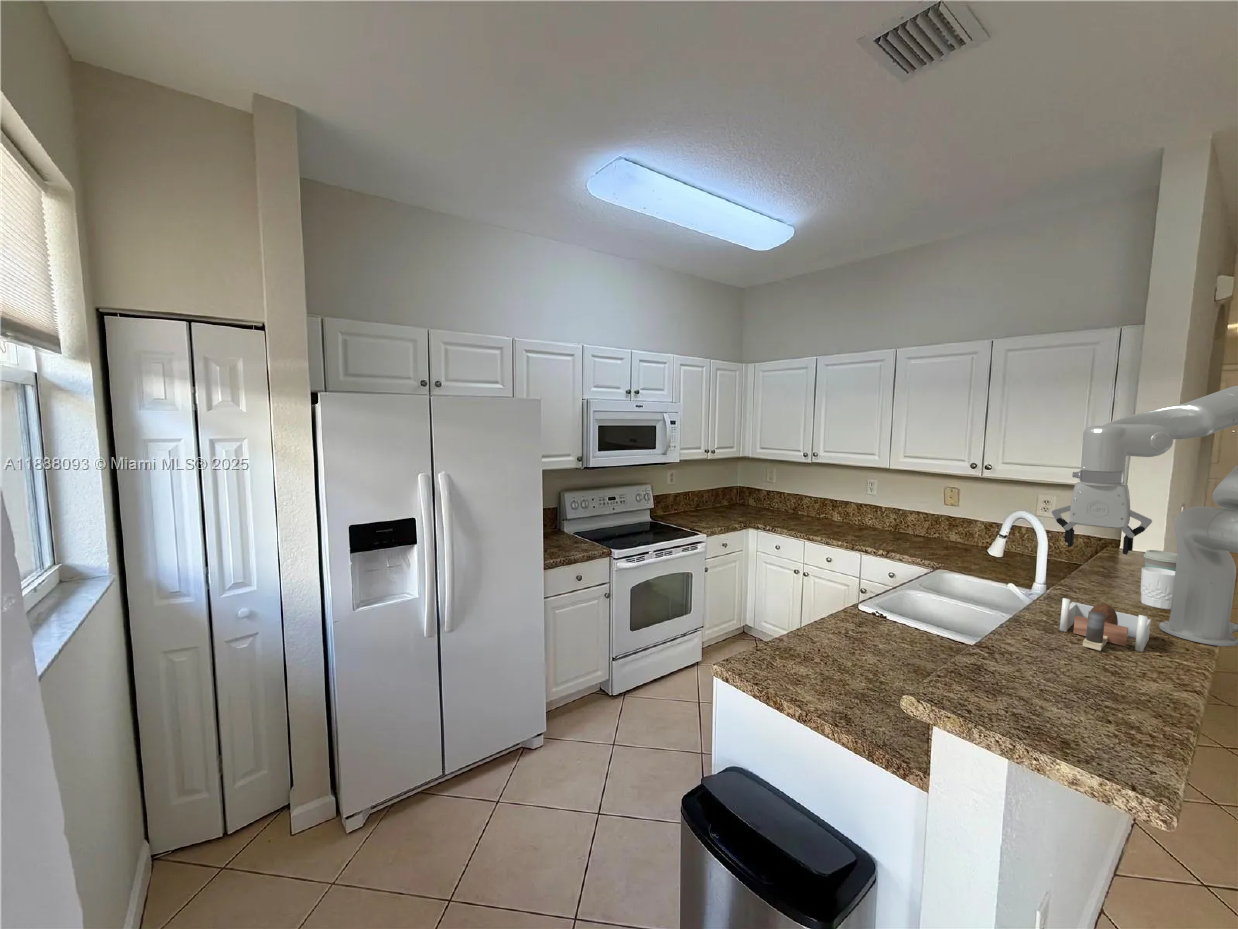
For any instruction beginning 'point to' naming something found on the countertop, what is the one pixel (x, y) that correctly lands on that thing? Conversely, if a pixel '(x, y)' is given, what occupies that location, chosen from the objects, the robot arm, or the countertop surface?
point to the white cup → (1157, 587)
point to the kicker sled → (1099, 631)
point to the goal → (1135, 624)
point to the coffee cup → (1160, 559)
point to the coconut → (1107, 613)
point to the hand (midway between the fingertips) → (1097, 549)
